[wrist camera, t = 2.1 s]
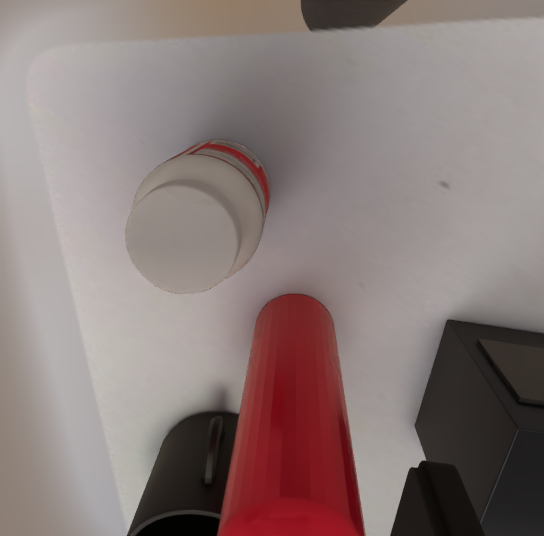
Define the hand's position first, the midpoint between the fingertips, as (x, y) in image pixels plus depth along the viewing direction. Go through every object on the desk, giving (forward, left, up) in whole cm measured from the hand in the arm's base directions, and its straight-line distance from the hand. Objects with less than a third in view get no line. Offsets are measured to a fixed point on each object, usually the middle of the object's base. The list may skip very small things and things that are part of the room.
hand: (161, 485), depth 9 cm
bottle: (+8, +4, -23) cm, 24 cm away
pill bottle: (-1, -2, -23) cm, 23 cm away
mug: (+19, 0, -23) cm, 29 cm away
